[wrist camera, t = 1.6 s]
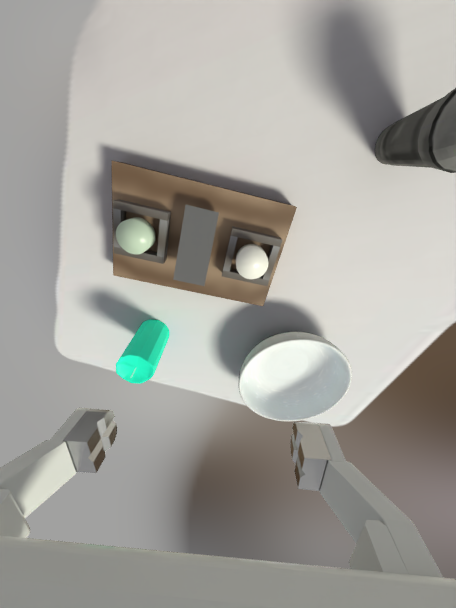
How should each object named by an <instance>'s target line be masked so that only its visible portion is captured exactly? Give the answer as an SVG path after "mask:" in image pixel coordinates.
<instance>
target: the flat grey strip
mask: <svg viewBox="0 0 456 608" xmlns="http://www.w3.org/2000/svg"><path fill="white" fill-rule="evenodd" d="M218 216H219V212H215V211H210V210H206V209H202V208H198V207H194V206H190V205H186V206H185V212H184V218H183V224H182V230H181V236H180V242H179V248H178V254H177V260H176V266H175V272H174V278H173V280H177V281H182V282H187V283H192V284H196V285H201V286H205V281H206V276H207V271H208V266H209V261H210V256H211V251H212V246H213V241H214V236H215V231H216V226H217V221H218Z"/></svg>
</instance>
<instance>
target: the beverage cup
mask: <svg viewBox="0 0 456 608" xmlns="http://www.w3.org/2000/svg"><path fill="white" fill-rule="evenodd" d="M375 156H376V158H377V160H378V161H379V162H381V163H383V164H390V165H396V166H415V167H432V168H436V169H439V170H443V171H446V172H450V173H454V172H456V88H455V89H454V90H453V91H451V92H450V93H448V94H447V95H446V96H445V97H443V98H441V99H439V100H437V101H435V102H434V103H432V104H430V105H428V106H426V107H424V108H422V109H420V110H418V111H416V112H414V113H412V114H411V115H409V116H407V117H405V118H403V119H401V120H399V121H397V122H395V123H394V124H393V125H391V126H389V127H387V128H386V129H385V130H384V131H383V132H382V133H381V135H380V136H379V137H378V140H377V142H376V146H375Z"/></svg>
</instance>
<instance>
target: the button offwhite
mask: <svg viewBox="0 0 456 608" xmlns="http://www.w3.org/2000/svg"><path fill="white" fill-rule="evenodd" d="M236 268H237V271H238V273H239V274H240V275H241V276H242V277H244V278H246V279H257V278H259V277H261V276H262V275H263V274H264V273H265V272H266V270H267V268H268V258H267V256H266V254H265V252H264V250H263V249H262V248H261V247H260V246H258V245H256V244H247V245H244V246H243V247H241V248H240V249H239V251H238V252H237V255H236Z"/></svg>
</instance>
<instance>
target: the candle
mask: <svg viewBox="0 0 456 608" xmlns="http://www.w3.org/2000/svg"><path fill="white" fill-rule="evenodd" d="M168 338H169V329H168V328H167V326H166V325H165V324H164V323H162V322H160V321H159V320H152V319H149V320H147V321H144V322H143V323H142V324H141V326H140V327H139V329H138V331H137V332H136V334H135V335H134V337H133V338H132V340H131V342H130V343H129V345H128V346H127V348H126V349H125V351H124V353H123V354H122V356H121V357H120V359H119V360H118V362H117V364H116V373H117V374H118V375H119V376H120V377H122V378H123V379H125V380H127V381H129V382H130V383H143V382H145V381H147V380H149V379H150V378H151V377H152V376H153V375H154V373H155V370H156V368H157V365H158V363H159V360H160V358H161V355H162V353H163V350H164V348H165V346H166V343H167V341H168Z"/></svg>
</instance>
